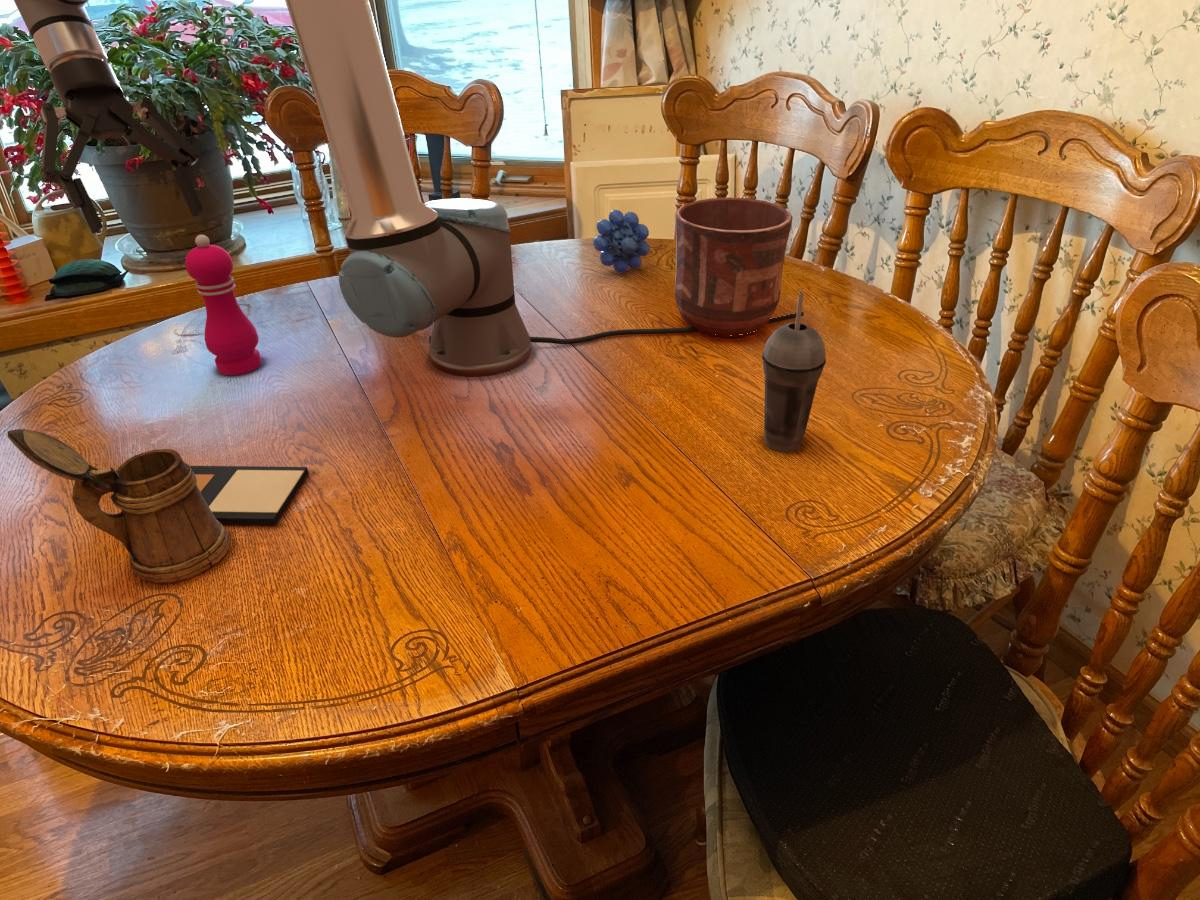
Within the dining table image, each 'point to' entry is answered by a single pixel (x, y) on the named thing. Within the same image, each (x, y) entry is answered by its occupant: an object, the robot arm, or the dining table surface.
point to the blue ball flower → (621, 241)
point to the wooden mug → (139, 506)
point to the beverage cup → (791, 381)
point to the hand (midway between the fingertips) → (150, 221)
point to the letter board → (248, 492)
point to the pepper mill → (222, 310)
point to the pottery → (729, 264)
